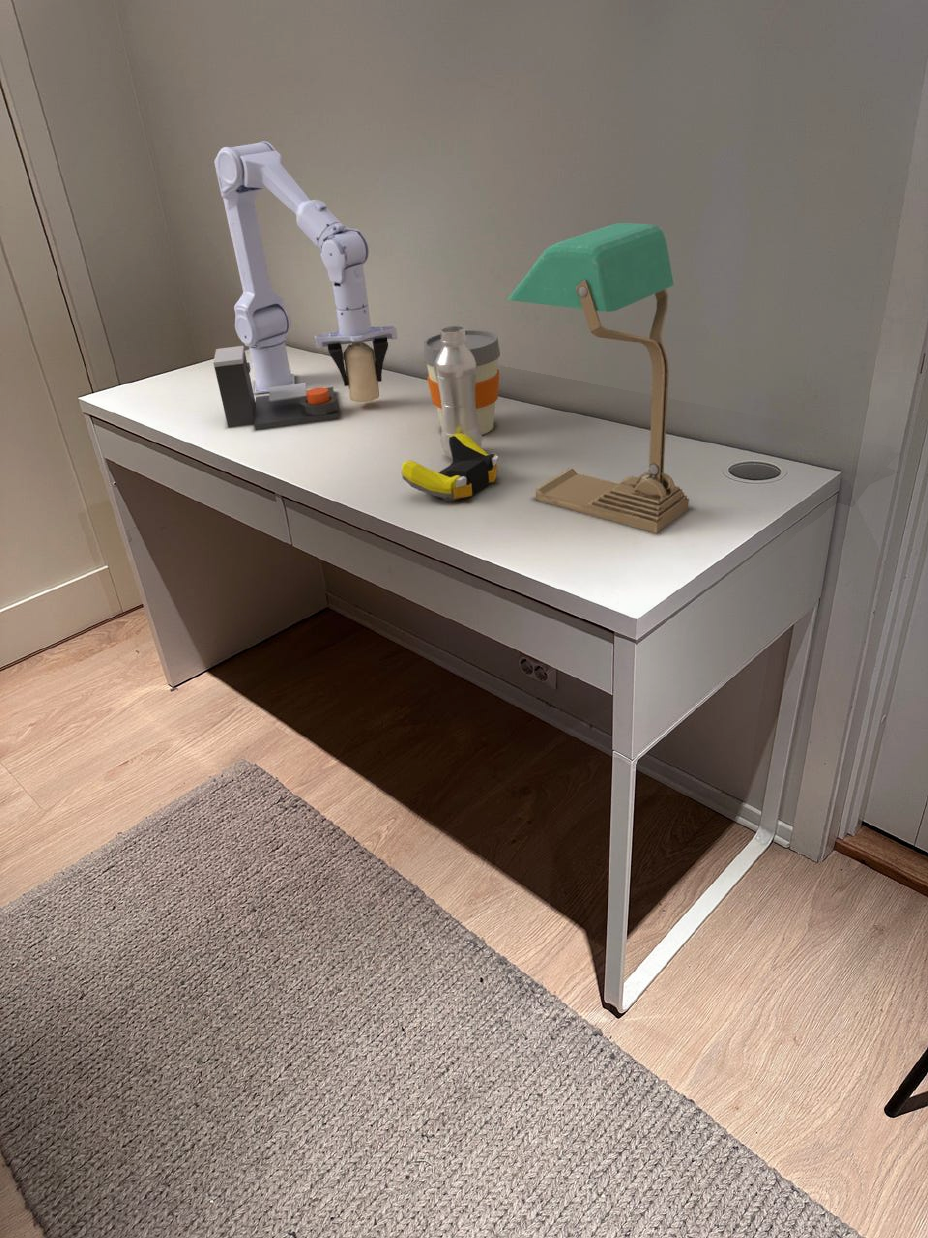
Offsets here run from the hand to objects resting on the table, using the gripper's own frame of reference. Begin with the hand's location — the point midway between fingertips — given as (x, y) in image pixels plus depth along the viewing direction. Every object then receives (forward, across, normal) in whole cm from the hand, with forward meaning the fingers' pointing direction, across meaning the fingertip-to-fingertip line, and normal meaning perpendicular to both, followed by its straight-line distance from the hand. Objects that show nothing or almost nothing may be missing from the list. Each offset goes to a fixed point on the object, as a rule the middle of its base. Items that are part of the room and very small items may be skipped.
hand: (362, 382), depth 161 cm
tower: (+5, -18, +4) cm, 19 cm away
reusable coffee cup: (+5, +16, -18) cm, 25 cm away
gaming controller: (+5, +10, -41) cm, 43 cm away
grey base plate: (+5, -13, +3) cm, 14 cm away
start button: (+2, -8, -2) cm, 9 cm away
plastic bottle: (+5, +13, -30) cm, 33 cm away
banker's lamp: (+5, +29, -54) cm, 62 cm away
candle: (+3, 0, 0) cm, 3 cm away
